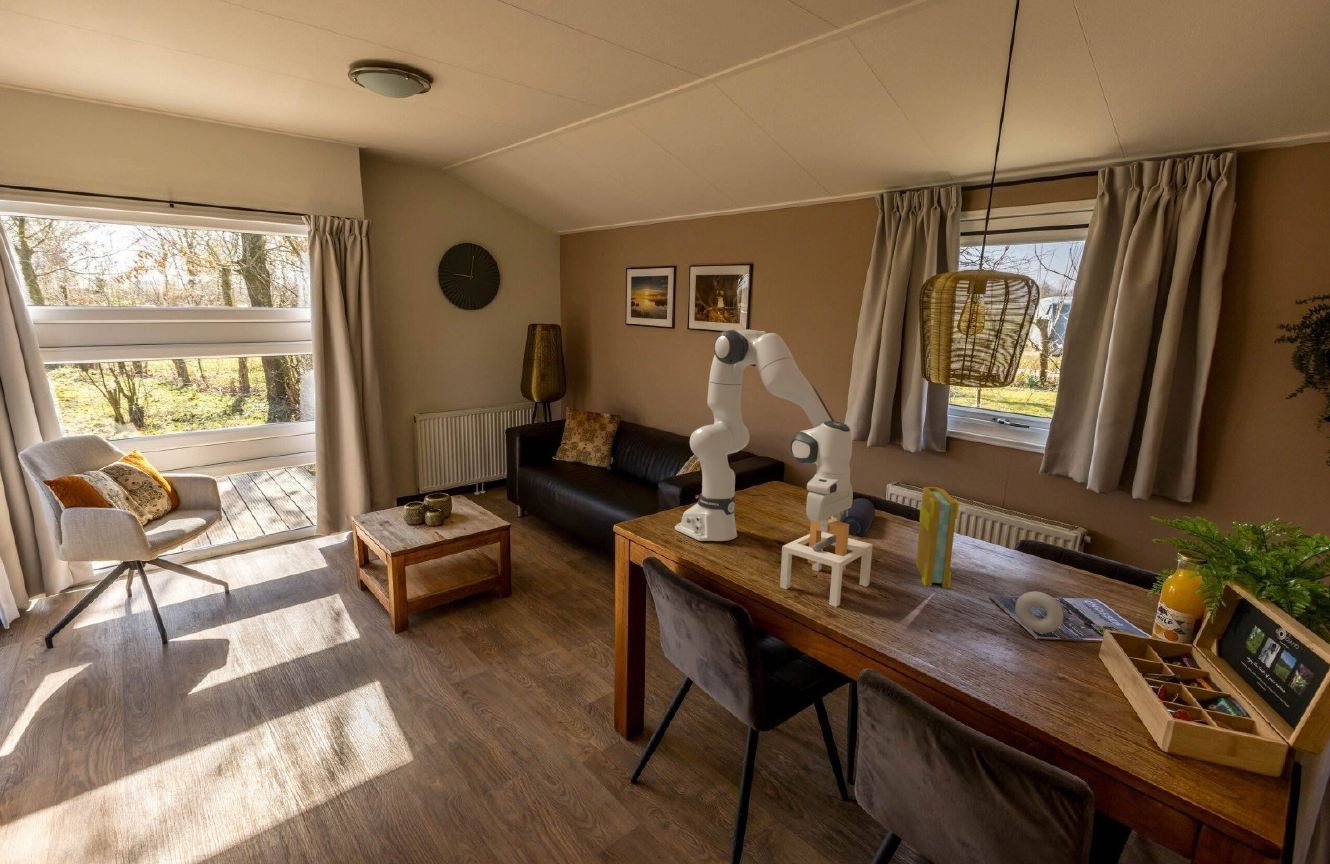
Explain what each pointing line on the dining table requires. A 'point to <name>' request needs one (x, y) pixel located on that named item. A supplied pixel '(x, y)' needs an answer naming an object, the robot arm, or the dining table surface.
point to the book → (936, 536)
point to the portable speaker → (859, 516)
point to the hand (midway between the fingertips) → (828, 529)
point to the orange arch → (835, 529)
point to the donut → (1034, 623)
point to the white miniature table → (827, 561)
